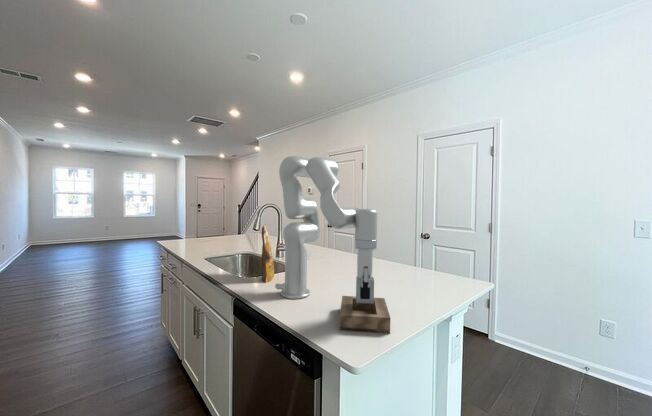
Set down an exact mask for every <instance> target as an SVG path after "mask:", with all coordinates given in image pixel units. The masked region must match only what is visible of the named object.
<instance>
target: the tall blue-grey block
mask: <svg viewBox="0 0 652 416" xmlns="http://www.w3.org/2000/svg"><path fill="white" fill-rule="evenodd" d="M363 278H364V277H363ZM355 280H356V281H355V285H356V286H355V297H356V303H367V304H374V298H375V278H374V276H372V278H371V279H370V283H369V287H370V299H361V298H360V287H361V278H359V279H358V278H357V275H356V279H355ZM363 281H364V280H363Z"/></svg>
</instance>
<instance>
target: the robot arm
mask: <svg viewBox="0 0 652 416" xmlns="http://www.w3.org/2000/svg"><path fill="white" fill-rule="evenodd" d="M278 171H279V172H278V174H279V175H278V176H279V179H280V183H281V187H282V197H283V207H284V214H285V217H286V218H287V219H290V220H302V221H296V222H290V223H288V224H287V225H286V226H285V227H284V228H283V231H282V234H283V235H282V237H283V240H284V242H283V243H284V253H285V254H284V282H283V283H275V286H274V288H275V289H276V290H281V292H280V296H282V297H283V298H286V299H290V300H291V299H292V300H294V299H295V300H298V299H304V298H307V297H309V296H310V295H311V291H310V289H308V288H307V285H308V284H307V276H308V275H307V274H308V271H307V270H308V269H307V268H308V254H307V250H306V248H305V245H304V244H310V243H315V242H317V241H318V240H319V238H320V237H321V223H320V214H319V207H320V210H321V213H322V215H323V216H324V218H325V220H326V221H327V223H328V224H329V225H330V226H331V227H332V228H334V229H337V230H343V229H344V230H345V229H354V228H355V229H354V249H355V250H357V255H356V258H357V259H356V276H357V278H358V279H359V278H361V287H360V298H361V299H370V287H369V283H370V279H371V278H372V277H373V269H374V268H373V266H374V251H376V250H377V249H378V247H377V246H378V239H377V238H378V237H377V236H378V212H377V210H375V209H374V208H358V207H340V205H339V204H338V202H337V201H336V199H335V196H334V195H335V194H336V193H337V192H338V191H339V190H340V188H341V183H340V181H339V180H338V178H337V176H338V174H339V166H338V164H337V162H336V160H333V159H330V158H325V157H320V156H314V157H311V158H309V157H308V158H307V157H303V156H297V155H295V156H293V155H291V156H287V157H285V158H284V159H282V161H281V162H280V166H279V169H278ZM297 177H299V178H309V179H310V180H312V182H313V184H314V185H315V186H316V188H317V190H318V192H319V193H320V197H319V207H318V205H317V202H316V201H315V200H314V199H312V198H311V197H310V198H309V197H304V195H303V188H302V187H303V186H302V185H301V183H300V181H299V179H298V178H297ZM363 277H364V278H363ZM363 280H364V281H363Z"/></svg>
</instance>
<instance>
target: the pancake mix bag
mask: <svg viewBox="0 0 652 416" xmlns="http://www.w3.org/2000/svg"><path fill="white" fill-rule="evenodd" d="M261 239H262V247H261V248H262V249H261V260H260V261H261V267H260V268H261V270H260V271H261V282H263V283H267V282H271V281H272V280H273V278H274V276H275V265H274V258H273V257H274V256H273V251H272V246H271V241H270V236H269V233H268V230H267V227H266V223H265V224H264V225H263V226H262V227H261Z"/></svg>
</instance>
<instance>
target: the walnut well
mask: <svg viewBox="0 0 652 416" xmlns="http://www.w3.org/2000/svg"><path fill="white" fill-rule="evenodd" d="M339 310H340V311H339V331H345V332H346V331H348V332H349V331H350V332H362V333H374V334H376V333H377V334H378V333H379V334H389V335H390V334H391V315H390V312H389V309H388V305H387V302H386V298H385V297H374V304H367V303H356V295H355V296H353V295H342V296H341V304H340V309H339Z"/></svg>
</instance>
